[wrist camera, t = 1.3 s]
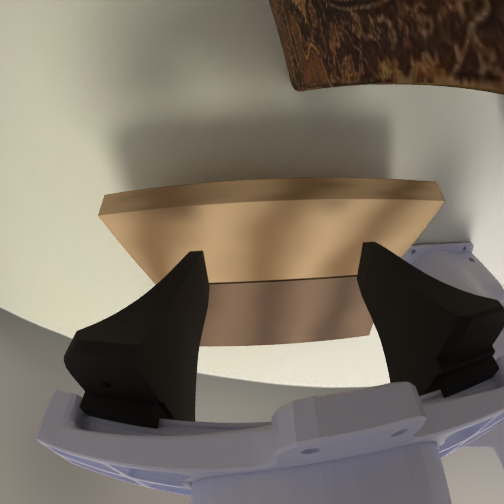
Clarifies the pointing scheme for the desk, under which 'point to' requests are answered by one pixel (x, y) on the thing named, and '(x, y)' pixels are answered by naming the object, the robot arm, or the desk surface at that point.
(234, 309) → the walnut strip
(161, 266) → the oak plank
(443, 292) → the robot arm
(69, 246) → the desk surface
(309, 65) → the book
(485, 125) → the desk surface
